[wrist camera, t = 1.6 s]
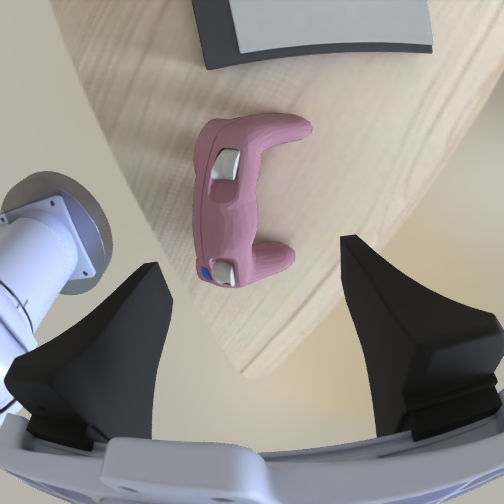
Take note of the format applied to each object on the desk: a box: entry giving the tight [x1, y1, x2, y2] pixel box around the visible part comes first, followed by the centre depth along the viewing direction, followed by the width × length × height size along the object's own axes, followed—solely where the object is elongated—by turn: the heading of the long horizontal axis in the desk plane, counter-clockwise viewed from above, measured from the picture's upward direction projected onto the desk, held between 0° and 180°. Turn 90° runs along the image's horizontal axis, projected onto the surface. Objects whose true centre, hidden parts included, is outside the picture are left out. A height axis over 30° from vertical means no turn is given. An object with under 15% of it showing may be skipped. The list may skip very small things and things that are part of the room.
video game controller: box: [193, 113, 312, 288], centre depth 17 cm, size 10×5×7 cm
